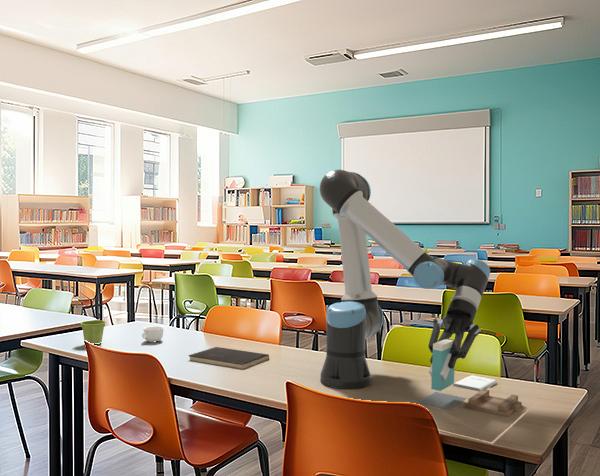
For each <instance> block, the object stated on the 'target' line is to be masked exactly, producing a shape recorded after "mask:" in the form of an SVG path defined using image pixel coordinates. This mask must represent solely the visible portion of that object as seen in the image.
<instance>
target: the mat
mask: <svg viewBox="0 0 600 476" xmlns="http://www.w3.org/2000/svg"><path fill="white" fill-rule="evenodd" d="M465 400H468V399H467V397H462V396H458V395H453V394H448V393H443V392H440V391H435V392H433V393H431V394H429V395H427V396H426V397H423V398H422V399H420V400H419V401H417V402H416V404H422V405H426V406H430V407H435V408H439V409H443V410H451V409H453V408H454V407H456V406H457V405H459V404H460V403H462V402H464V401H465Z"/></svg>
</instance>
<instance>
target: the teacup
mask: <svg viewBox="0 0 600 476" xmlns="http://www.w3.org/2000/svg"><path fill="white" fill-rule="evenodd" d="M141 337H142V339H143V340H145V341H146V342H148V341H149V342H148V343H155V342H154V341H159V342H160V341H161V340H162V339H163V337H164V326H161V325H160V326H158V325H155V326H154V325H151V326H145V327H143V333H142V335H141Z"/></svg>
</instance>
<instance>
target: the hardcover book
mask: <svg viewBox="0 0 600 476" xmlns="http://www.w3.org/2000/svg"><path fill="white" fill-rule="evenodd" d="M187 356H188V357H189V361H193V362H199V363H204V364H205V363H206V364H211V365H215V366H216V365H217V366H223V367H230V368H235V369H241V370H244V369H246V368H249V367H251V366H254V365H256V364H260V363H262V362H264V361H267V360H269V359H270V355H269V354H266V353H261V352H254V351H246V350H241V349H233V348H227V347H219V346H215V347H211V348H208V349H204V350H202V351H201V350H200V351H198V352H195V353H192V354H189V355H187Z"/></svg>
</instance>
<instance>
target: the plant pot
mask: <svg viewBox="0 0 600 476" xmlns="http://www.w3.org/2000/svg"><path fill="white" fill-rule="evenodd" d="M106 323H107V321H105V320H99V319H96V320H85V321H81V322H80V326H81V328H82V333H83V340H87V341H88V342H90V343H94V344H95V343H100V342H102V341H103V335H104V328H105V325H106Z"/></svg>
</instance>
